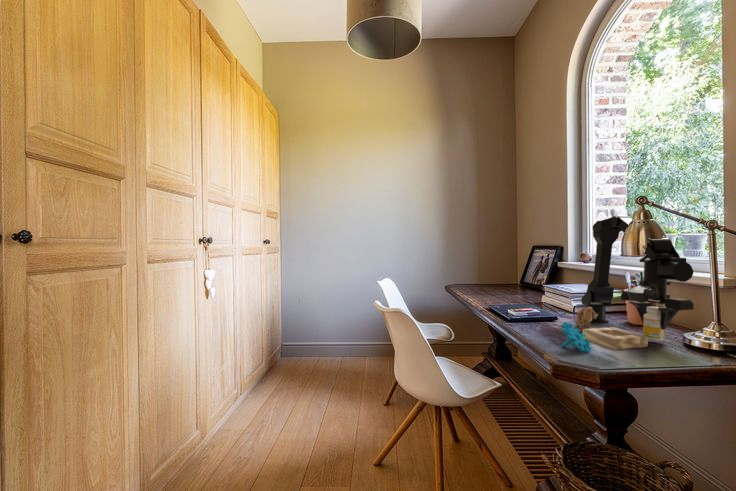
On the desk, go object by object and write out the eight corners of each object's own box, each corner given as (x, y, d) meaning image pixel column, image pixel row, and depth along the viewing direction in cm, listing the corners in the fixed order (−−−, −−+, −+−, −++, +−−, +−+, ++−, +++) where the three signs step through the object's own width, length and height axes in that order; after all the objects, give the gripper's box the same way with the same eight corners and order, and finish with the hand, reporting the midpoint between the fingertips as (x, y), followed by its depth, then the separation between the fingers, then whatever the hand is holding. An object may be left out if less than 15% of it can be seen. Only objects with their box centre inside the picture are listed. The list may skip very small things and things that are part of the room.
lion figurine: (599, 334, 123) (599, 308, 123) (582, 333, 124) (582, 307, 124) (584, 324, 137) (584, 301, 137) (568, 323, 139) (569, 300, 138)
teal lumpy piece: (582, 350, 99) (559, 320, 106) (566, 361, 103) (544, 331, 109) (600, 349, 106) (577, 320, 112) (584, 359, 109) (562, 331, 115)
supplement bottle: (653, 335, 116) (654, 305, 116) (669, 340, 111) (670, 309, 111) (638, 336, 116) (639, 306, 115) (654, 341, 110) (654, 309, 110)
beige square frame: (612, 336, 121) (612, 327, 121) (647, 346, 109) (647, 336, 109) (582, 338, 118) (582, 329, 118) (614, 349, 106) (615, 339, 106)
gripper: (608, 275, 120) (607, 321, 121) (665, 282, 102) (663, 336, 102) (635, 274, 123) (634, 319, 123) (695, 281, 104) (694, 334, 105)
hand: (653, 327), depth 113 cm, fingers closed on supplement bottle, 5 cm apart
